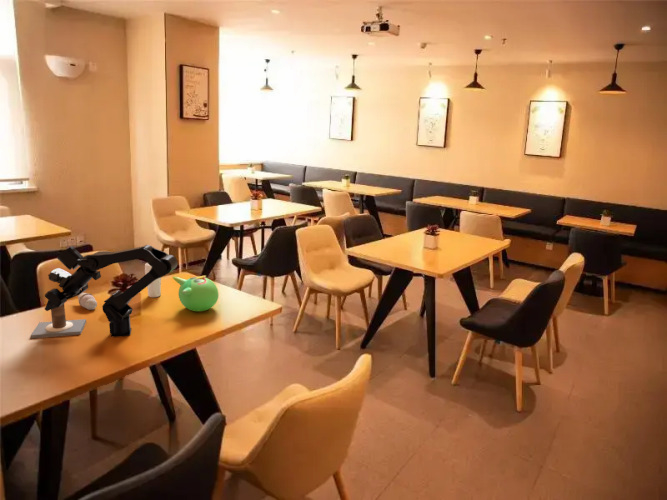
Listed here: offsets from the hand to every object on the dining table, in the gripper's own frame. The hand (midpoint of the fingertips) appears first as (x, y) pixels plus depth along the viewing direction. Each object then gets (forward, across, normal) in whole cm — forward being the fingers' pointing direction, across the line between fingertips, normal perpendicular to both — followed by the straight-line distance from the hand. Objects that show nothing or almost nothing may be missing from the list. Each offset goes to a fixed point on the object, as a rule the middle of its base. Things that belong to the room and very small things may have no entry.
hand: (53, 305), depth 181 cm
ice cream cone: (+8, -24, +6) cm, 26 cm away
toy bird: (-25, -27, +38) cm, 53 cm away
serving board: (+6, 0, +8) cm, 10 cm away
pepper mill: (+5, 0, +7) cm, 8 cm away
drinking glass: (-8, -41, +22) cm, 47 cm away
